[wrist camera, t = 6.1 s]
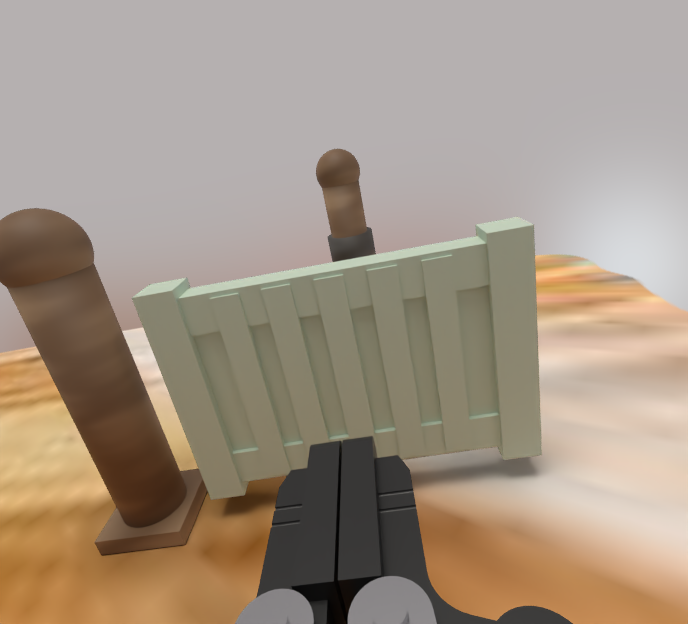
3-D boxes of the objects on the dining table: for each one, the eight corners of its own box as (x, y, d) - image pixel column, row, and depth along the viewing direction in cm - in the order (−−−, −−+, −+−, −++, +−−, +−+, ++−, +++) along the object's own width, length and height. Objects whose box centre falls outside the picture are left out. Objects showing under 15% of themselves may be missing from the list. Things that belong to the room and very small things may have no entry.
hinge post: (101, 555, 20) (-75, 230, 15) (140, 489, 24) (11, 211, 18) (185, 544, 20) (36, 207, 14) (212, 479, 23) (102, 192, 18)
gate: (211, 499, 20) (131, 297, 17) (220, 474, 22) (149, 284, 18) (541, 454, 19) (533, 224, 15) (528, 431, 20) (517, 216, 17)
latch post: (345, 370, 31) (299, 157, 26) (346, 345, 35) (305, 154, 30) (401, 361, 31) (365, 143, 26) (396, 337, 35) (364, 142, 30)
